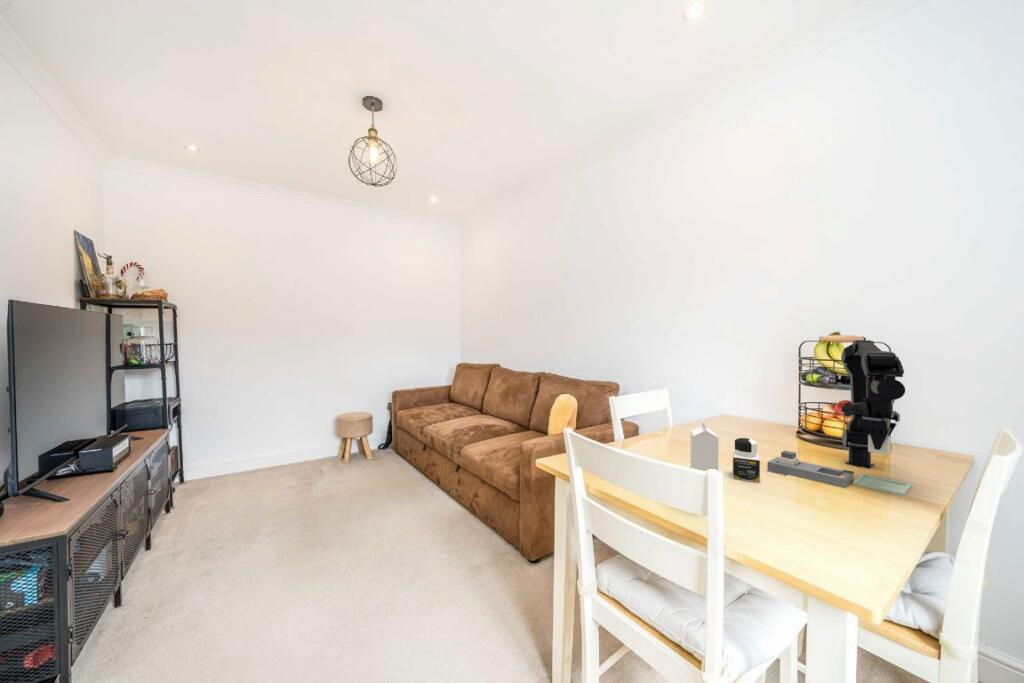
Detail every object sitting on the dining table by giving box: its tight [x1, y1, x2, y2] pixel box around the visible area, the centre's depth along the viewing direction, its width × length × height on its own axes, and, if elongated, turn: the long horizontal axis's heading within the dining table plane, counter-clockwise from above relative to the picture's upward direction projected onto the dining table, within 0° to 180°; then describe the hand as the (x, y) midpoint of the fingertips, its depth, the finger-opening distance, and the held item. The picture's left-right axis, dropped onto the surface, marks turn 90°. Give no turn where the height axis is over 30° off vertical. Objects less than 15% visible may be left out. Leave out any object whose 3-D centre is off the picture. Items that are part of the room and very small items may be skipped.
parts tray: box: [852, 473, 913, 497], centre depth 115 cm, size 11×11×1 cm
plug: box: [868, 434, 892, 456], centre depth 115 cm, size 4×4×6 cm
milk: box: [690, 419, 720, 471], centre depth 104 cm, size 6×6×22 cm
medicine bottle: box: [731, 437, 761, 483], centre depth 124 cm, size 7×7×12 cm
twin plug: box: [778, 450, 799, 467], centre depth 129 cm, size 4×4×6 cm
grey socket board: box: [767, 456, 855, 489], centre depth 124 cm, size 9×20×3 cm, turn 37°
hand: (879, 447), depth 115 cm, fingers closed on plug, 4 cm apart
